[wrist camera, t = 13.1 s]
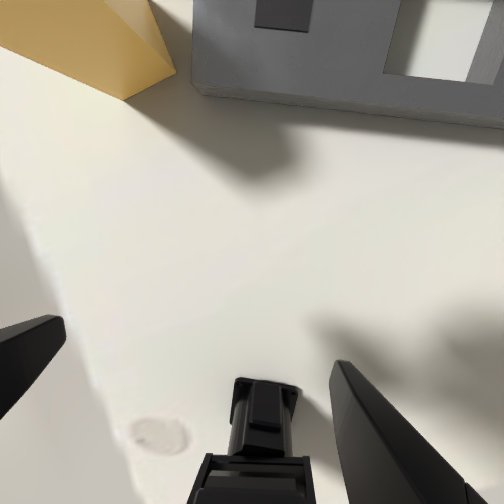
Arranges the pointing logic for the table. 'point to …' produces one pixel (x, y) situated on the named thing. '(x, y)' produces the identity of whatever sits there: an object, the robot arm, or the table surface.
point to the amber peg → (90, 41)
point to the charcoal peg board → (336, 60)
